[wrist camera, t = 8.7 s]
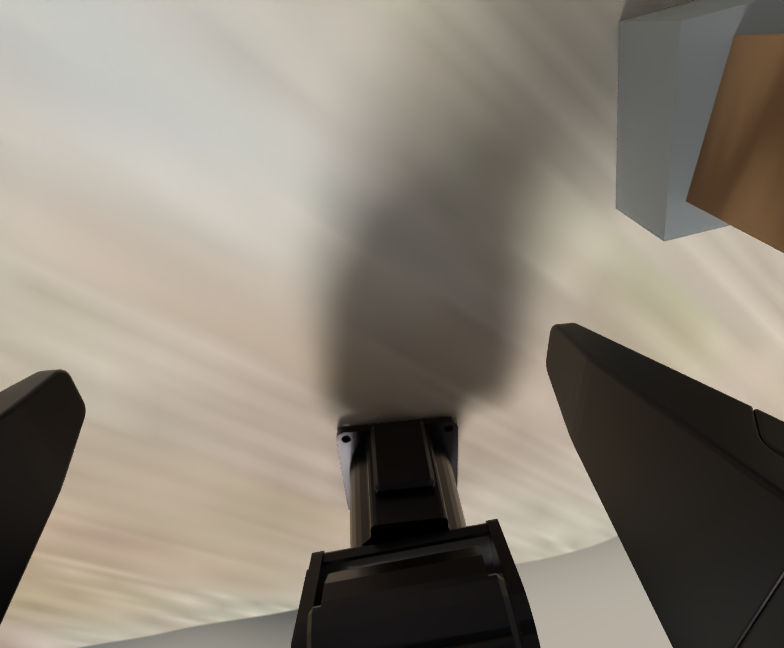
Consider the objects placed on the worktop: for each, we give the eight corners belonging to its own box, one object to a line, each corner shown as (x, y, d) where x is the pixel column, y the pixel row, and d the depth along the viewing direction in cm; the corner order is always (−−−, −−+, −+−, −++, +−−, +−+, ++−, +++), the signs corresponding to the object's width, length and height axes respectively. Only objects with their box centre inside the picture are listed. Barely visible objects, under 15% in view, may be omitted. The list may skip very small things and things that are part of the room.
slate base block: (775, 165, 21) (859, 193, 17) (612, 206, 21) (664, 241, 18) (813, -33, 17) (929, -46, 14) (615, 21, 17) (680, 21, 14)
